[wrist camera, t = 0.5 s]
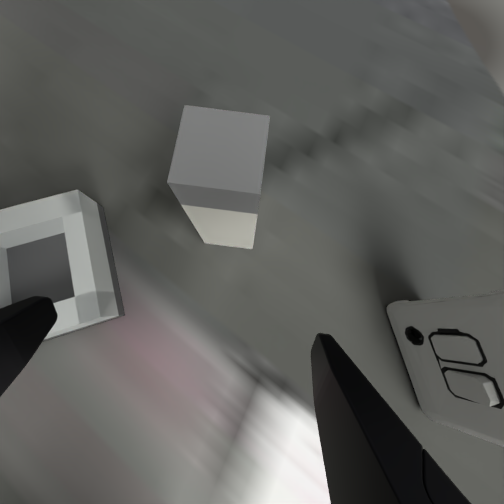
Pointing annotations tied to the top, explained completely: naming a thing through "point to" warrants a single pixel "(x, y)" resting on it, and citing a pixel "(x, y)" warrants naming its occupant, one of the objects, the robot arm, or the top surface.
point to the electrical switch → (456, 359)
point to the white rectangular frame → (60, 260)
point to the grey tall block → (220, 172)
